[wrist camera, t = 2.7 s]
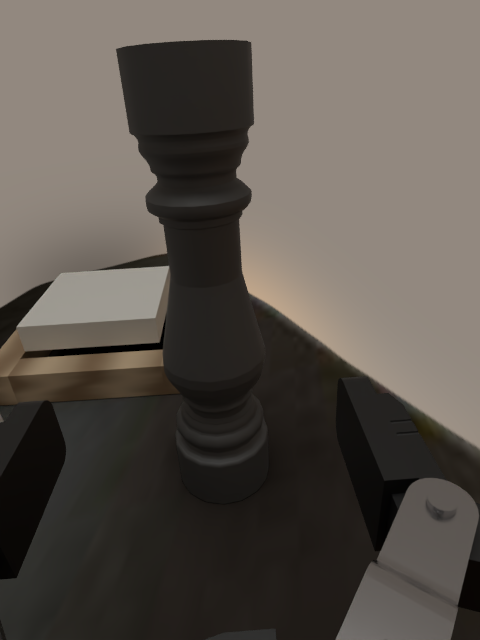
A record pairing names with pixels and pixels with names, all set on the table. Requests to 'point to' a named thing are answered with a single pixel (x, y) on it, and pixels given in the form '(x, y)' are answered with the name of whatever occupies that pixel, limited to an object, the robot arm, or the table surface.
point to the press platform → (98, 310)
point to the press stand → (78, 375)
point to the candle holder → (203, 252)
